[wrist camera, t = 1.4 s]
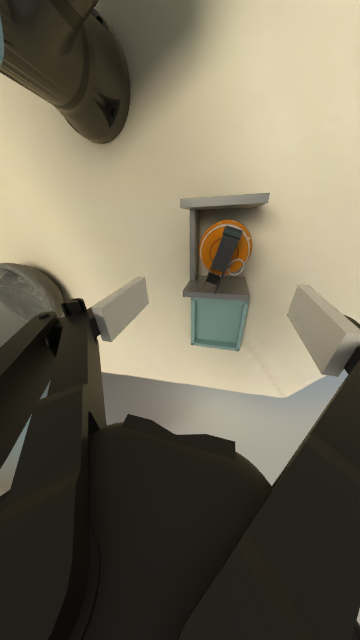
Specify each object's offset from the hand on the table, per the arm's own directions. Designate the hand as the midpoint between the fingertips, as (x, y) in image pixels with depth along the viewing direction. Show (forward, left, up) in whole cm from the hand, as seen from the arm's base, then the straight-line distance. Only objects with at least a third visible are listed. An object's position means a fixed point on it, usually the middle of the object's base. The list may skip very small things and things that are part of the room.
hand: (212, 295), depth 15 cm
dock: (0, 0, -31) cm, 31 cm away
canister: (0, 0, -31) cm, 31 cm away
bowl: (+15, -63, -31) cm, 72 cm away
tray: (+21, 0, -31) cm, 37 cm away
